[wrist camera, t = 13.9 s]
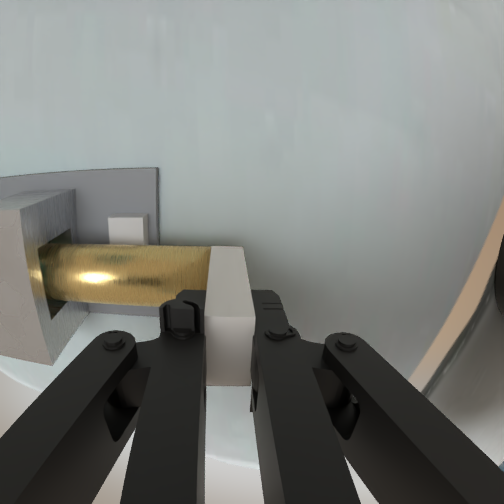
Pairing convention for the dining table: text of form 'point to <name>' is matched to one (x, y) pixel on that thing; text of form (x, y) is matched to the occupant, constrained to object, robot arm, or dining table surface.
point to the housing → (105, 211)
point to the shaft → (122, 272)
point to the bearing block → (35, 275)
